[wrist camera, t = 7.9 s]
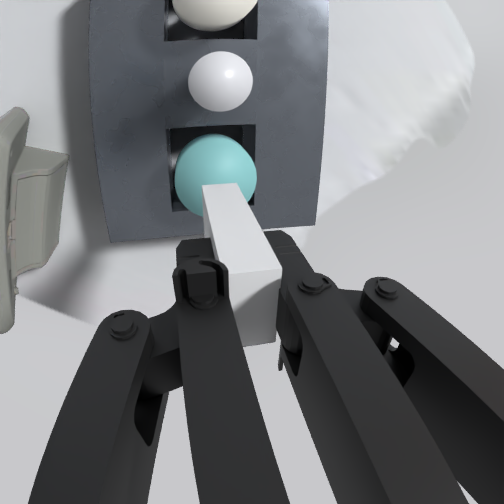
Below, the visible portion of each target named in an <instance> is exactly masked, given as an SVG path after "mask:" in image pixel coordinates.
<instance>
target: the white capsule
mask: <svg viewBox="0 0 504 504" xmlns="http://www.w3.org/2000/svg"><path fill="white" fill-rule="evenodd" d="M252 84H253V77H252V73H251V70H250V68H249V66H248V64H247V63H246V62H245V61H244V60H243V59H242V58H241V57H239V56H238V55H236V54H233V53H230V52H225V51H218V52H212V53H209V54H207V55H205V56H203V57H202V58H200V59H199V60H198V61H197V62H196V63H195V64H194V66H193V67H192V69H191V71H190V74H189V78H188V87H189V91H190V93H191V95H192V97H193V99H194V100H195V101H196V102H197V103H198V104H199V105H200V106H202V107H204V108H205V109H208V110H211V111H216V112H223V111H228V110H232V109H234V108H236V107H238V106H239V105H241V104H242V103H243V102H244V101H245V100H246V99H247V97H248V96H249V94H250V92H251V89H252Z"/></svg>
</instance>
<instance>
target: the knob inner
mask: <svg viewBox="0 0 504 504" xmlns="http://www.w3.org/2000/svg"><path fill="white" fill-rule="evenodd" d="M257 1H258V0H172V4H173V8H174V11H175V13H176V15H177V16H178V17H179V19H180V20H181V21H182V22H184V23H185V24H186V25H188V26H190V27H192V28H194V29H197V30H201V31H220V30H224V29H227V28H230V27H232V26H234V25H235V24H237V23H238V22H240V21H241V20H242V19H243V18H244V17H245V16H246V15H247V14H248V13H249V12H250V11H251V10H252V8H253V7H254V6H255V4H256V3H257Z"/></svg>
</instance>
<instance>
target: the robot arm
mask: <svg viewBox="0 0 504 504" xmlns="http://www.w3.org/2000/svg"><path fill="white" fill-rule="evenodd" d="M202 202H203V221H204V237H205V238H200V239H189V240H182V241H181V242H180V244H179V245H178V246H177V248H176V258H177V259H176V261H177V267H176V268H175V269H174V272H173V275H172V278H173V284H174V291H175V297H176V302H175V304H174V305H173V306H172V307H171V308H170V309H169V310H167V311H166V312H164V313H162V314H160V315H157V316H154V317H151V318H147V316H145V315H144V314H142V313H141V312H138V311H134V310H121V311H118V312H115V313H112V314H111V315H109V316H108V317H106V318H105V319H104V320H103V321H102V322H101V324H100V325H99V327H98V329H97V331H96V333H95V335H94V337H93V339H92V341H91V343H90V345H89V347H88V349H87V352H86V353H85V355H84V357H83V360H82V362H81V364H80V366H79V368H78V370H77V373H76V375H75V377H74V380H73V382H72V384H71V386H70V388H69V391H68V393H67V396H66V398H65V400H64V403H63V405H62V407H61V410H60V412H59V415H58V417H57V420H56V422H55V425H54V428H53V430H52V433H51V435H50V438H49V441H48V443H47V446H46V449H45V452H44V455H43V457H42V461H41V463H40V466H39V469H38V472H37V475H36V479H35V482H34V485H33V488H32V491H31V495H30V498H29V502H28V504H147V502H148V495H149V490H150V484H151V479H152V474H153V468H154V463H155V458H156V453H157V448H158V442H159V438H160V432H161V428H162V423H163V418H164V414H165V408H166V404H167V400H168V395H169V391H172V390H174V389H177V388H179V387H182V386H183V391H184V399H185V408H186V416H187V425H188V432H189V440H190V447H191V453H192V460H193V466H194V473H195V478H196V484H197V489H198V495H199V501H200V504H290V502H289V499H288V496H287V493H286V490H285V487H284V484H283V481H282V478H281V474H280V471H279V468H278V465H277V462H276V459H275V456H274V452H273V449H272V446H271V442H270V439H269V436H268V433H267V429H266V426H265V422H264V419H263V416H262V412H261V409H260V406H259V402H258V399H257V396H256V392H255V389H254V385H253V382H252V378H251V375H250V371H249V368H248V364H247V361H246V357H245V354H244V350H243V347H246V346H252V345H260V344H265V343H272V342H275V341H276V331H277V332H278V334H279V336H280V339H281V345H280V354H279V361H278V369H279V371H281V370H282V368H283V363H284V365H285V368H286V371H287V373H288V376H289V378H290V381H291V384H292V387H293V389H294V392H295V394H296V397H297V400H298V402H299V405H300V408H301V410H302V413H303V416H304V418H305V421H306V424H307V426H308V429H309V431H310V434H311V437H312V439H313V442H314V444H315V447H316V450H317V452H318V455H319V457H320V460H321V462H322V465H323V468H324V470H325V473H326V476H327V478H328V481H329V483H330V486H331V488H332V491H333V493H334V496H335V498H336V501H337V504H469V503H468V501H467V499H466V498H465V496H464V494H463V492H462V490H461V488H460V486H459V484H458V482H459V483H460V484H461V486H462V487H463V488H464V489H465V490H466V491H467V492H468V493H469V494H470V495H471V496H472V497H473V498H474V500H475V501H476V502H477V503H478V504H504V369H502V368H501V367H500V366H499V365H498V364H497V363H496V362H495V361H493V360H492V359H491V358H490V357H489V356H488V355H487V354H486V353H484V352H483V351H482V350H481V349H480V348H479V347H478V346H477V345H475V344H474V343H473V342H472V341H471V340H470V339H468V338H467V337H466V336H465V335H463V334H462V333H461V332H460V331H459V330H458V329H457V328H455V327H454V326H453V325H452V324H451V323H449V322H448V321H447V320H446V319H444V318H443V317H442V316H441V315H440V314H438V313H437V312H436V311H435V310H433V309H432V308H431V307H430V306H429V305H427V304H426V303H425V302H424V301H422V300H421V299H419V298H418V297H417V296H416V295H414V294H413V293H412V292H411V291H410V290H408V289H407V288H406V287H404V286H403V285H402V284H400V283H399V282H397V281H395V280H393V279H389V278H386V277H375V278H371V279H369V280H368V281H366V283H365V285H364V288H363V291H356V290H344V289H338V288H337V286H336V285H335V283H334V282H333V281H332V280H331V279H330V278H329V277H327V276H325V275H323V274H319V273H315V272H314V271H313V269H312V268H311V266H310V265H309V263H308V262H307V260H306V258H305V257H304V255H303V254H302V252H300V249H299V248H298V246H296V243H295V242H294V240H293V239H292V237H291V236H289V235H288V234H286V233H285V232H283V231H281V230H276V231H265V232H263V231H262V229H261V227H260V225H259V223H258V222H257V220H256V218H255V216H254V214H253V212H252V210H251V209H250V207H249V205H248V203H247V201H246V199H245V197H244V196H243V194H242V192H241V190H240V188H239V186H238V185H237V183H227V184H213V185H202ZM392 338H394V339H395V340H396V341H397V342H399V343H400V344H399V346H398V348H394V347H393V346H391V345H390V342H391V340H392ZM457 481H458V482H457Z"/></svg>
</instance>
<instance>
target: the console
mask: <svg viewBox="0 0 504 504" xmlns="http://www.w3.org/2000/svg"><path fill="white" fill-rule="evenodd" d="M168 6H169V0H90V18H89V80H90V99H91V113H92V125H93V136H94V145H95V153H96V161H97V169H98V176H99V182H100V189H101V195H102V201H103V206H104V212H105V217H106V222H107V227H108V232H109V237H110V242H111V243H113V242H123V241H133V240H143V239H154V238H164V237H175V236H186V235H197V234H204V221H203V217H202V216H199V215H197V214H195V213H193V212H191V211H190V210H188V209H187V208H186V207H185V206H184V205H183V203H182V202H181V201H180V199H179V197H178V195H177V192H176V189H174V188H173V175H172V161H171V145H170V128H182V127H196V126H214V125H243V149H244V150H245V151H246V152H247V153H248V154H249V156H250V157H251V159H252V161H253V163H254V165H255V168H256V173H257V181H256V187H255V190H254V193H253V195H252V197H251V198H250V200H249V201H248V202H247V203H248V205H249V207H250V209H251V210H252V212H253V214H254V216H255V218H256V220H257V222H258V223H259V225H260V227H261V229H270V228H284V227H297V226H312V225H315V221H316V212H317V203H318V193H319V183H320V172H321V160H322V148H323V135H324V121H325V105H326V86H327V62H328V21H329V0H258V1H257V3H256V4H255V6H254V7H253V8H252V10H251V11H250V12H249V13H248V14H247V15H246V16H245V17H244V39H199V40H180V41H168ZM218 51H225V52H230V53H233V54H236V55H238V56H239V57H241V58H242V59H243V60H244V61H245V62H246V63H247V64H248V66H249V68H250V70H251V73H252V77H253V84H252V89H251V92H250V94H249V96H248V97H247V99H246V100H245V101H244V102H243V103H242V104H241V105H239V106H238V107H236V108H234V109H232V110H228V111H223V112H216V111H211V110H208V109H205V108H204V107H202V106H200V105H199V104H198V103H197V102H196V101H195V100H194V99H193V97H192V95H191V93H190V91H189V87H188V78H189V74H190V71H191V69H192V67H193V66H194V64H195V63H196V62H197V61H198V60H199V59H200V58H202V57H203V56H205V55H207V54H209V53H212V52H218Z"/></svg>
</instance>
